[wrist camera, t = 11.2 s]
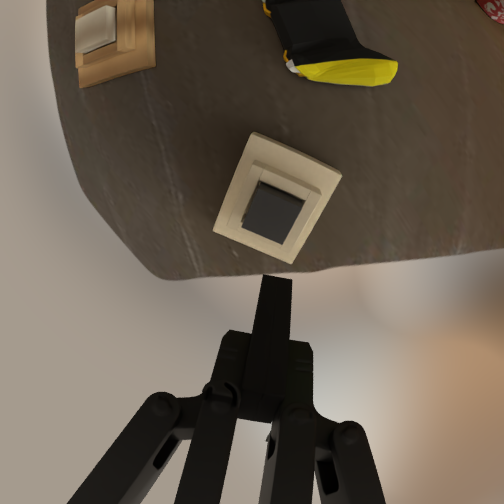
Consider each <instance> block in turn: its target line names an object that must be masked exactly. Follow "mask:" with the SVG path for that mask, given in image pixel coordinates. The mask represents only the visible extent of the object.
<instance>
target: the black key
mask: <svg viewBox="0 0 504 504" xmlns="http://www.w3.org/2000/svg"><path fill="white" fill-rule="evenodd" d="M301 210H302V200H300V199H298V198H296V197H293V196H291V195H289V194H287V193H285V192H282V191H280V190H278V189H276V188H273V187H271V186H269V185H267V184H264V183H262V182H261V183H260V185H259V187H258V189H257V192H256V194H255V196H254V198H253V201H252V203H251V205H250V207H249V210H248V212H247V214H246V216H245V219H244V221H243V224H242V226H241V228H243V229H246V230H248V231H251V232H253V233H255V234H258V235H260V236H262V237H265V238H267V239H269V240H272V241H274V242H276V243H279V244H281V245H283V243H284V241H285V240H286V238H287V236H288V234H289V232H290V230H291V228H292V227H293V225H294V223H295V221H296V219H297V217H298V215H299V214H300V212H301Z"/></svg>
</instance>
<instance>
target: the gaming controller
mask: <svg viewBox="0 0 504 504" xmlns="http://www.w3.org/2000/svg"><path fill="white" fill-rule="evenodd" d="M262 1H263V8H264V12H265V14H266V15H267V16H269V17H270V18H271V19H272V21H273V23H274V25H275V28H276V30H277V33H278V35H279V37H280V40H281V42H282V45H283V48H284V50H285V53H284V57H283V58H284V60H285V62H286V65H287V67H288V69H289V70H291V71H292V72H296V74H297V75H298V76H305V77H306V78H307V79H308V80H312V81H316V82H324V83H331V84H340V85H355V86H367V87H372V86H378V85H385V84H388V83H389V82H390V81H391V80H392V79H393V77H394V76H395V74H396V71H397V68H398V63H397V61H395V60H393V59H391V58H389V57H387V56H385V55H383V54H381V53H378V52H376V51H373V50H370V49H367V48H365V47H363V46H362V45H361V44H360V43H359V42H358V40H357V38H356V36H355V33H354V31H353V28H352V26H351V23H350V21H349V18H348V16H347V14H346V12H345V9H344V7H343V5H342V3H341V0H262Z"/></svg>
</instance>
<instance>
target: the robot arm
mask: <svg viewBox="0 0 504 504" xmlns="http://www.w3.org/2000/svg"><path fill="white" fill-rule="evenodd" d="M291 300H292V279H286V278H280V277H275V276H270V275H264V274H263V278H262V283H261V288H260V293H259V298H258V304H257V309H256V314H255V319H254V325H253V330H252V334H250V333H244V332H239V331H234V330H229V331H228V332H227V333H226V334H225V335H224V336H223V338H222V341H221V345H220V349H219V352H218V355H217V359H216V362H215V366H214V369H213V373H212V377H211V380H210V382H209V383H207V384H206V385H205V386H204V388H203V390H202V394H200V395H198V396H195V397H186V398H176V397H175V396H173V395H172V394H170V393H167V392H157V393H154V394H152V395H150V396H149V397H148V398H147V399H146V401H145V402H144V403H143V405H142V406H141V407H140V409H139V410H138V411H137V412H136V414H135V415H134V416H133V418H132V419H131V420H130V422H129V423H128V424H127V426H126V427H125V428H124V430H123V431H122V432H121V434H120V435H119V436H118V437H117V439H116V440H115V441H114V443H113V444H112V445H111V447H110V448H109V449H108V451H107V452H106V453H105V455H104V456H103V457H102V458H101V460H100V461H99V462H98V464H97V465H96V466H95V468H94V469H93V470H92V472H91V473H90V474H89V475H88V477H87V478H86V479H85V481H84V482H83V483H82V484H81V486H80V487H79V488H78V490H77V491H76V492H75V494H74V495H73V496H72V498H71V499H70V500H69V501H68V503H67V504H140V503H141V502H142V500H143V499H144V497H145V496H146V495H147V493H148V492H149V490H150V489H151V487H152V486H153V484H154V483H155V481H156V480H157V478H158V477H159V475H160V474H161V472H162V471H163V469H164V468H165V466H166V465H167V463H168V461H169V460H170V459H171V457H172V455H173V454H174V452H175V451H176V449H177V448H178V446H179V445H180V443H181V442H182V440H189V439H192V440H191V444H190V447H189V451H188V454H187V458H186V462H185V465H184V469H183V473H182V476H181V480H180V484H179V487H178V491H177V494H176V498H175V502H174V504H219V503H220V499H221V494H222V489H223V485H224V480H225V475H226V470H227V465H228V461H229V456H230V450H231V446H232V441H233V436H234V431H235V425H236V421H237V418H239V419H245V420H250V421H257V422H263V423H271V422H272V428H271V431H270V433H269V435H268V436H267V439H266V441H267V442H268V445H267V452H266V459H265V466H264V473H263V479H262V485H261V491H260V497H259V504H312V494H313V481H314V471H315V475H316V479H317V485H318V490H319V495H320V500H321V504H386V503H385V498H384V495H383V491H382V487H381V484H380V480H379V477H378V473H377V469H376V466H375V463H374V459H373V456H372V452H371V449H370V446H369V443H368V439H367V436H366V433H365V431H364V429H363V427H362V426H361V425H360V424H358V423H357V422H354V421H344V422H342V423H337V422H335V421H332V420H329V419H327V418H325V417H323V416H321V415H320V414H319V413H318V412H317V411H316V409H315V407H314V405H313V351H312V349H311V347H310V345H309V343H308V342H301V341H295V340H289V337H290V320H291Z"/></svg>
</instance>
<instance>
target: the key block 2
mask: <svg viewBox="0 0 504 504" xmlns="http://www.w3.org/2000/svg"><path fill="white" fill-rule="evenodd" d="M341 177H342V175H341V173H340V171H339V170H337V169H335V168H333V167H331V166H329V165H327V164H325V163H323V162H321V161H319V160H317V159H315V158H313V157H311V156H309V155H307V154H305V153H302V152H300V151H298V150H296V149H294V148H292V147H289V146H287V145H285V144H283V143H280V142H278V141H276V140H274V139H271V138H269V137H267V136H264V135H262V134H259V133H257V132H253V133H251V135H250V137H249V140H248V142H247V144H246V147H245V149H244V152H243V154H242V156H241V159H240V161H239V164H238V166H237V169H236V171H235V174H234V176H233V179H232V181H231V184H230V186H229V189H228V191H227V194H226V196H225V199H224V202H223V204H222V207H221V209H220V212H219V215H218V217H217V220H216V222H215V225H214V228H213V231H214V232H216V233H218V234H221V235H223V236H226V237H228V238H230V239H233V240H235V241H237V242H240V243H242V244H245V245H247V246H249V247H252V248H254V249H256V250H259V251H261V252H264V253H266V254H268V255H271V256H273V257H275V258H278V259H280V260H282V261H285V262H287V263H290V264H292V263H293V261H294V259H295V258H296V256H297V254H298V252H299V251H300V249H301V247H302V246H303V244H304V242H305V241H306V239H307V237H308V235H309V234H310V232H311V230H312V228H313V227H314V225H315V223H316V222H317V220H318V218H319V216H320V214H321V213H322V211H323V209H324V207H325V206H326V204H327V202H328V200H329V199H330V197H331V195H332V193H333V191H334V190H335V188H336V186H337V184H338V182H339V180H340V179H341ZM261 182H262V183H264V184H267V185H269V186H271V187H273V188H276V189H278V190H280V191H282V192H285V193H287V194H289V195H291V196H293V197H296V198H298V199H300V200H302V210H301V212H300V214H299V215H298V217H297V219H296V221H295V223H294V225H293V227H292V228H291V230H290V232H289V234H288V236H287V238H286V240H285V241H284V243H283V245H281V244H279V243H276V242H274V241H272V240H269V239H267V238H265V237H262V236H260V235H258V234H255V233H253V232H251V231H248V230H246V229H243V228H241V226H242V224H243V221H244V219H245V216H246V214H247V212H248V210H249V207H250V205H251V203H252V201H253V198H254V196H255V194H256V192H257V189H258V187H259V185H260V183H261Z"/></svg>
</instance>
